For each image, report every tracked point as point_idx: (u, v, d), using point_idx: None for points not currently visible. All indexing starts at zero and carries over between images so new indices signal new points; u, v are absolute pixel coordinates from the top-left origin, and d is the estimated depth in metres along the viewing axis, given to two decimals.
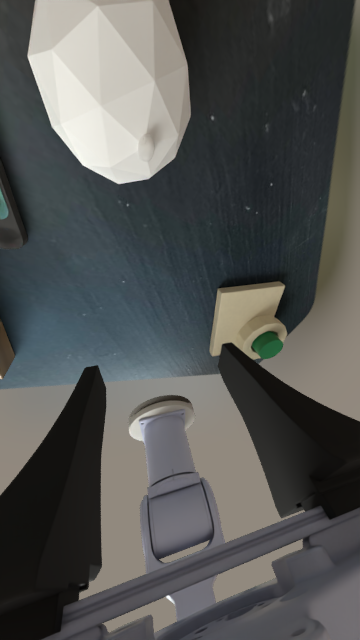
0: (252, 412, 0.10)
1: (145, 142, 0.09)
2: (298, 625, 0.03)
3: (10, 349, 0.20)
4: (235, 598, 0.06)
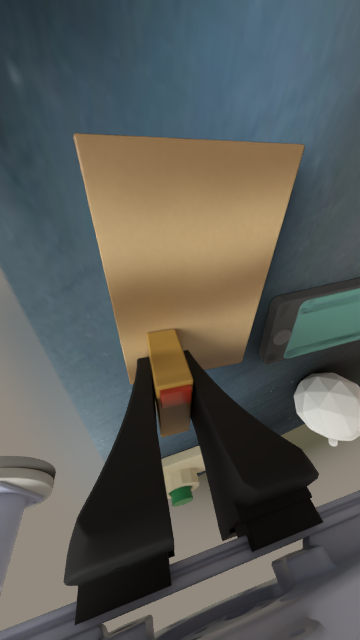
0: (199, 426, 0.09)
1: None
2: (298, 625, 0.03)
3: None
4: (235, 598, 0.06)
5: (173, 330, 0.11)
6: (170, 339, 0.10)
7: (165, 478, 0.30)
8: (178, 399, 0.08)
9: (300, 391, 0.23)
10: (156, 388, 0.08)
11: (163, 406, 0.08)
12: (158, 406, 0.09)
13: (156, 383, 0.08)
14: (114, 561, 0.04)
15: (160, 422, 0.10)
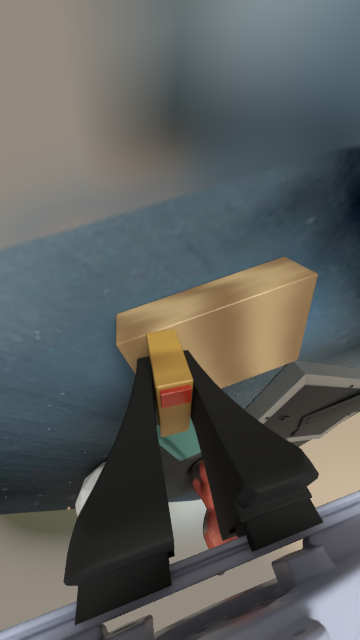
0: (199, 426, 0.09)
1: None
2: (298, 625, 0.03)
3: None
4: (235, 598, 0.06)
5: (173, 330, 0.11)
6: (170, 339, 0.10)
7: None
8: (178, 399, 0.08)
9: None
10: (156, 388, 0.08)
11: (163, 406, 0.08)
12: (158, 406, 0.09)
13: (156, 383, 0.08)
14: (114, 561, 0.04)
15: (160, 422, 0.10)
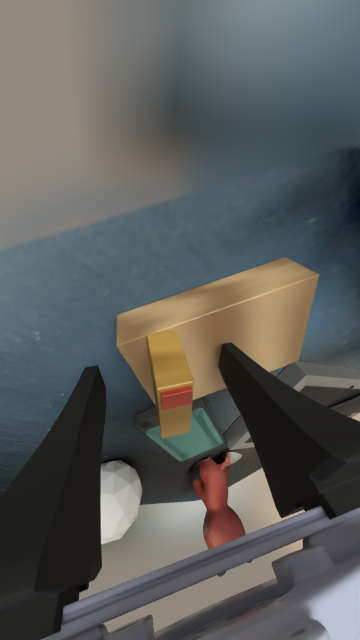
0: (252, 412, 0.10)
1: None
2: (298, 625, 0.03)
3: None
4: (235, 598, 0.06)
5: (174, 331, 0.11)
6: (171, 340, 0.10)
7: None
8: (179, 401, 0.08)
9: (106, 470, 0.23)
10: (157, 390, 0.08)
11: (164, 408, 0.08)
12: (159, 408, 0.09)
13: (157, 385, 0.08)
14: None
15: (160, 424, 0.10)
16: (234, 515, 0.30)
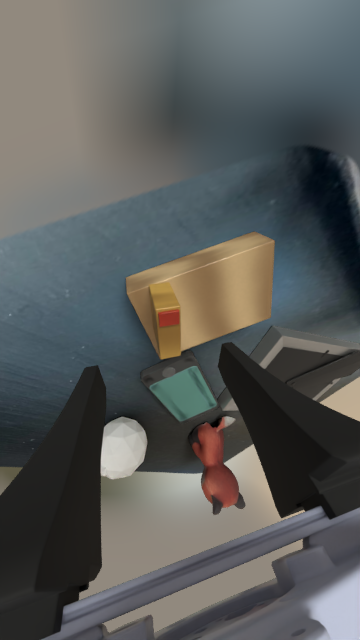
0: (252, 412, 0.10)
1: (105, 475, 0.24)
2: (298, 625, 0.03)
3: None
4: (235, 598, 0.06)
5: (168, 282, 0.15)
6: (165, 287, 0.14)
7: None
8: (170, 319, 0.12)
9: (117, 422, 0.27)
10: (155, 310, 0.12)
11: (160, 325, 0.12)
12: (157, 327, 0.13)
13: (155, 307, 0.12)
14: None
15: (159, 343, 0.14)
16: (228, 470, 0.34)
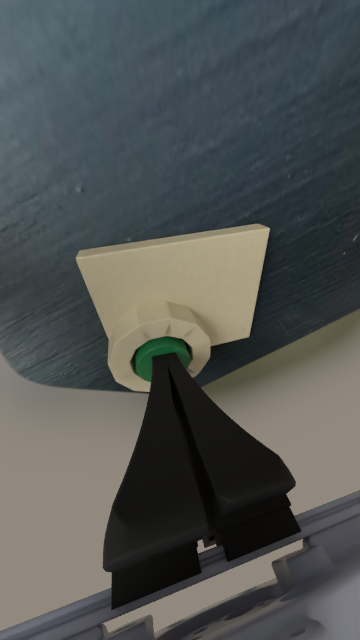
0: (183, 430, 0.09)
1: None
2: (298, 625, 0.03)
3: None
4: (235, 598, 0.06)
5: None
6: None
7: (125, 317, 0.11)
8: None
9: None
10: None
11: None
12: None
13: None
14: (154, 546, 0.04)
15: None
16: None
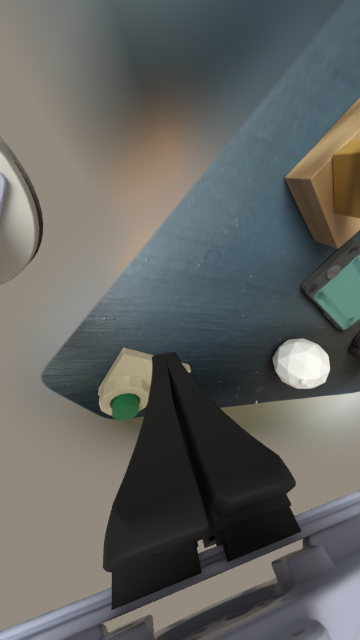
0: (183, 430, 0.09)
1: (305, 383, 0.26)
2: (298, 625, 0.03)
3: (293, 191, 0.17)
4: (235, 598, 0.06)
5: None
6: (359, 141, 0.13)
7: (121, 378, 0.25)
8: None
9: (288, 343, 0.29)
10: None
11: None
12: None
13: None
14: (154, 547, 0.04)
15: None
16: None
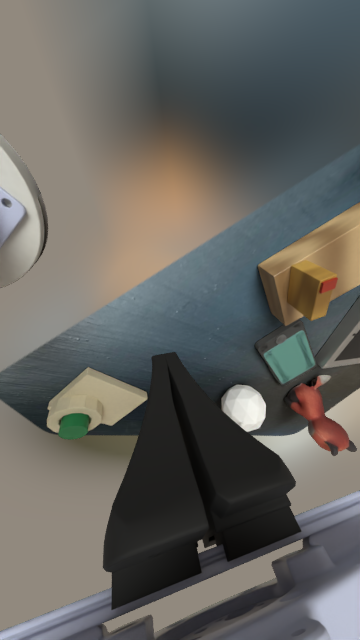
0: (183, 430, 0.09)
1: (243, 427, 0.30)
2: (298, 625, 0.03)
3: (261, 276, 0.22)
4: (235, 598, 0.06)
5: (306, 260, 0.19)
6: (308, 264, 0.18)
7: (78, 396, 0.25)
8: (330, 286, 0.16)
9: (237, 388, 0.33)
10: (319, 281, 0.16)
11: (322, 291, 0.17)
12: (316, 295, 0.17)
13: (318, 279, 0.16)
14: (154, 546, 0.04)
15: (314, 307, 0.18)
16: (333, 421, 0.37)
